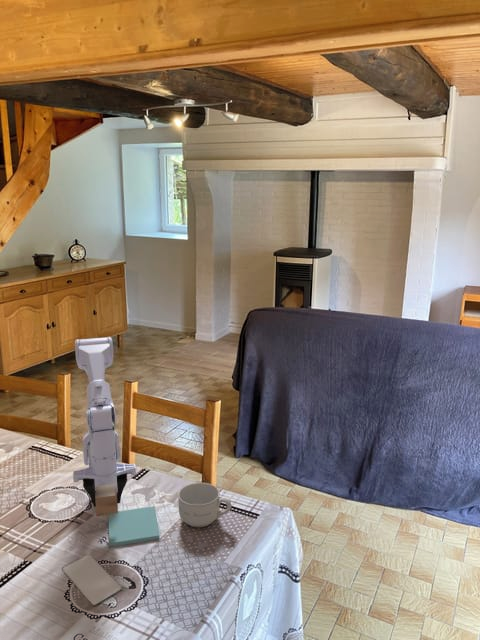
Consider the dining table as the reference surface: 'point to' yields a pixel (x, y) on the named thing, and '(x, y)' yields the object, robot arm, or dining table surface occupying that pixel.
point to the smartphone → (92, 580)
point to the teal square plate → (133, 526)
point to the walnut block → (106, 500)
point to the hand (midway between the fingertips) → (107, 502)
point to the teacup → (201, 504)
